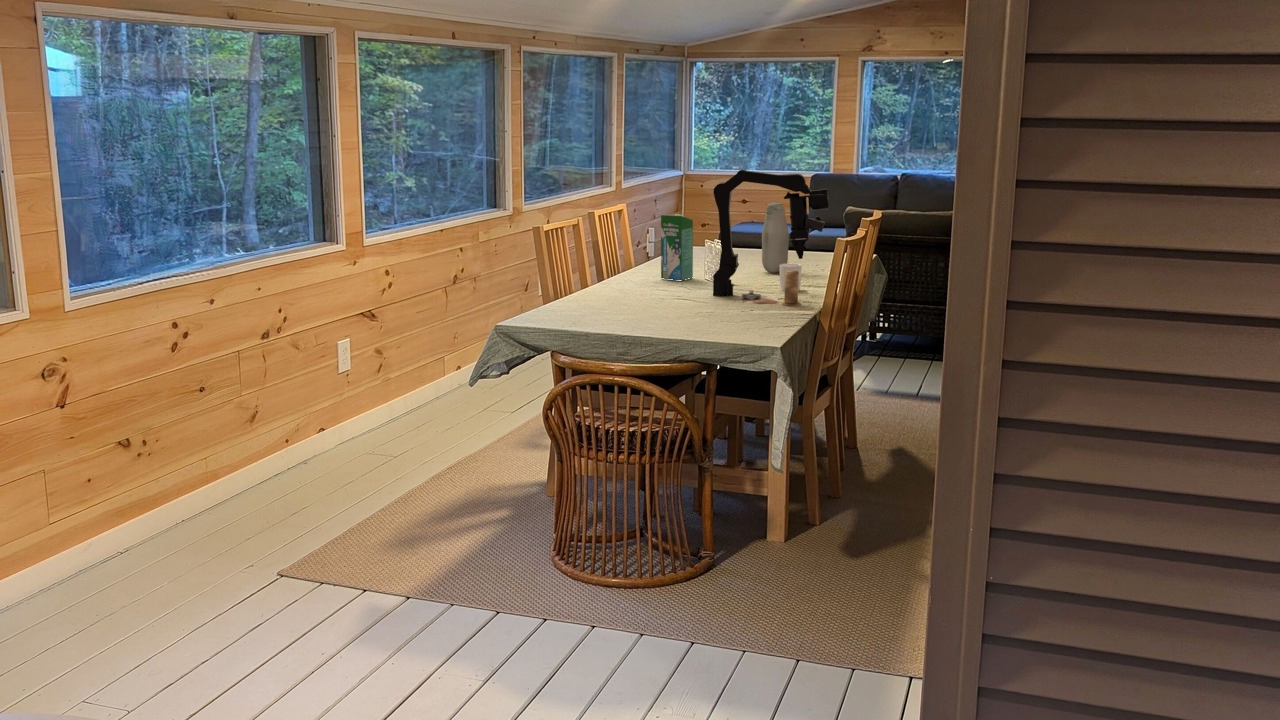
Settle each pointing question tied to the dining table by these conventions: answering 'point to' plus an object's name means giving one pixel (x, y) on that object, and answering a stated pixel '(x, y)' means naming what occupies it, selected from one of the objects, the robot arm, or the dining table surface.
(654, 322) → the dining table surface
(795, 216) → the robot arm
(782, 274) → the white cup
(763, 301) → the gear board
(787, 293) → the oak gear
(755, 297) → the metal gear
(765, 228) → the grey bottle
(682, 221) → the milk carton
